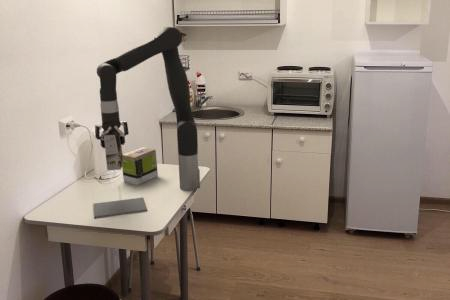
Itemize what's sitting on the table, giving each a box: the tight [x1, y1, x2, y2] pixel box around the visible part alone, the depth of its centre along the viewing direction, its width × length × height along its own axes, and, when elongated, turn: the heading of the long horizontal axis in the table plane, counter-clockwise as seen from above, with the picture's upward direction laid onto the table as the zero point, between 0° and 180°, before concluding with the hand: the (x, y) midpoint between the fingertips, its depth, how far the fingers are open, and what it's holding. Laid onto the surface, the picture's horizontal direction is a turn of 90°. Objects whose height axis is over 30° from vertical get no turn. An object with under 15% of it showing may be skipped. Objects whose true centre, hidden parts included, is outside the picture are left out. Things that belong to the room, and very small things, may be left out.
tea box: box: [121, 146, 159, 186], centre depth 243 cm, size 15×10×15 cm
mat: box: [93, 196, 148, 219], centre depth 212 cm, size 22×14×1 cm, turn 106°
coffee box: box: [104, 131, 123, 171], centre depth 215 cm, size 9×6×16 cm
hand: (113, 146), depth 215 cm, fingers closed on coffee box, 8 cm apart
